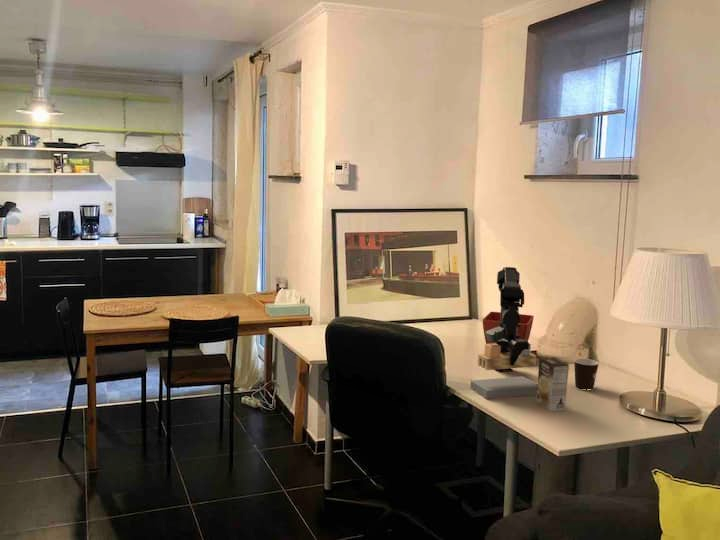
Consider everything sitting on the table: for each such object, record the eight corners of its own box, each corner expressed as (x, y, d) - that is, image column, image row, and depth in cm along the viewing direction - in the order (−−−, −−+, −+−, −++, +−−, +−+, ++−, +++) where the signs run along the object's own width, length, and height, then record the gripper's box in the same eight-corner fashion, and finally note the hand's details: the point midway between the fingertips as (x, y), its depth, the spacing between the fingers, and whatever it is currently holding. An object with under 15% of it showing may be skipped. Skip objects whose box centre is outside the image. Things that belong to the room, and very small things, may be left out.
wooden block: (526, 361, 253) (526, 351, 252) (535, 366, 247) (536, 355, 246) (477, 365, 247) (478, 354, 246) (486, 370, 241) (487, 359, 240)
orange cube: (494, 354, 247) (495, 343, 246) (500, 357, 243) (500, 346, 242) (484, 354, 246) (485, 344, 245) (490, 357, 242) (490, 346, 241)
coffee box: (535, 402, 237) (538, 357, 235) (551, 401, 239) (554, 356, 236) (549, 411, 228) (552, 365, 226) (566, 410, 230) (569, 364, 228)
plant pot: (479, 357, 292) (481, 319, 290) (488, 347, 310) (490, 310, 307) (524, 363, 285) (527, 324, 283) (531, 352, 303) (534, 315, 300)
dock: (522, 384, 257) (523, 376, 257) (540, 394, 246) (541, 386, 246) (470, 388, 250) (470, 380, 250) (486, 399, 239) (486, 390, 239)
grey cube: (524, 352, 251) (524, 341, 250) (530, 355, 247) (530, 344, 246) (514, 352, 249) (515, 342, 249) (520, 355, 246) (521, 344, 245)
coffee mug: (584, 392, 249) (586, 366, 248) (567, 385, 257) (569, 359, 255) (607, 388, 255) (609, 362, 253) (589, 382, 262) (592, 356, 261)
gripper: (477, 315, 251) (474, 357, 253) (503, 327, 233) (500, 371, 235) (504, 314, 254) (501, 355, 256) (531, 326, 237) (528, 369, 239)
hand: (507, 362), depth 247 cm, fingers closed on wooden block, 6 cm apart
